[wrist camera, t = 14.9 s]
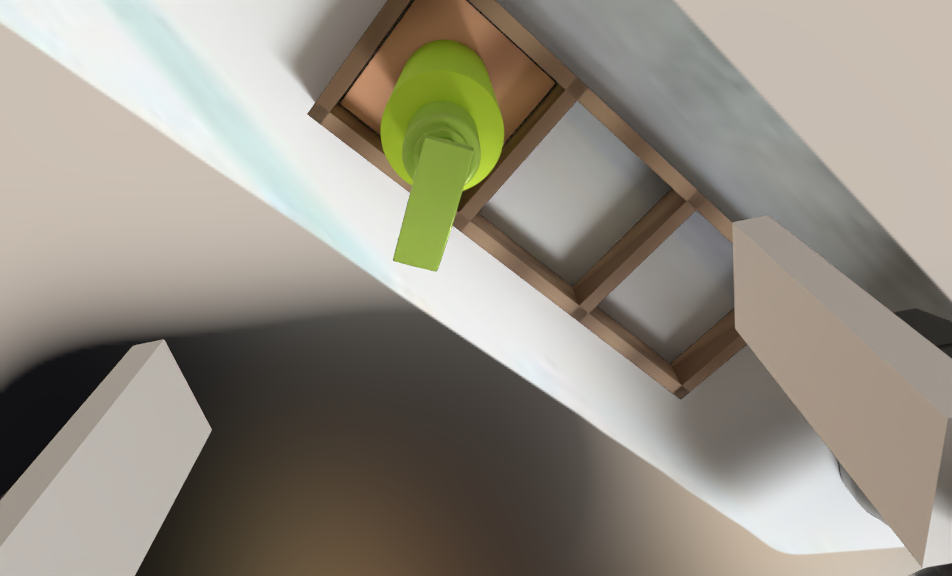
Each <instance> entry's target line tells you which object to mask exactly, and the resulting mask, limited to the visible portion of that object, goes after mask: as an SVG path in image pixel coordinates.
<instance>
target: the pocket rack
mask: <svg viewBox="0 0 952 576" xmlns="http://www.w3.org/2000/svg"><path fill="white" fill-rule="evenodd" d="M411 1H412V0H388V1H387V2H386V3H385V5H384V6H383V8H382V9H381V11H380V12H379V13H378V15H377V16H376V18H375V19H374V20H373V22H372V23H371V25H370V26H369V28H368V29H367V30H366V32H365V33H364V35H363V36H362V37H361V39H360V40H359V42H358V43H357V45H356V46H355V47H354V49H353V50H352V52H351V53H350V54H349V56H348V57H347V59H346V60H345V62H344V63H343V64H342V66H341V67H340V69H339V70H338V71H337V73H336V74H335V76H334V77H333V78H332V80H331V81H330V83H329V84H328V86H327V87H326V88H325V90H324V91H323V93H322V94H321V95H320V97H319V98H318V100H317V101H316V103H315V104H314V105H313V107H312V108H311V110H310V111H309V112H308V115H309V116H310V117H311V118H313V119H314V120H315V121H317V122H318V123H319V124H321V125H322V126H323V127H325V128H326V129H327V130H329V131H330V132H331V133H332V134H334V135H335V136H336V137H338V138H339V139H340V140H342V141H343V142H344V143H346V144H347V145H348V146H349V147H351V148H352V149H353V150H355V151H356V152H357V153H359V154H360V155H361V156H363V157H364V158H365V159H366V160H368V161H369V162H370V163H372V164H373V165H374V166H376V167H377V168H378V169H380V170H381V171H382V172H383V173H385V174H386V175H387V176H389V177H390V178H391V179H393V180H394V181H395V182H397V183H398V184H399V185H401V186H402V187H403V188H404V189H406V190H407V191H408V192H411V188H412V185H410V184H408V183H407V182H406V181H404V180H403V179H402V178H401V177H400V176H399V175H398V174H397V173H396V172H395V171H394V169H393V168H392V167H391V165H390V164H389V162H388V160H387V158H386V156H385V153H384V150H383V147H382V143H381V137H380V136H379V135H381V133H380V129H381V120H382V115H383V112H384V109H385V107H386V104H387V102H388V100H389V98H390V96H391V94H392V92H393V90H394V88H395V85H396V83H397V81H398V79H399V77H400V75H401V73H402V71H403V68H404V66H405V64H406V62H407V61H408V59H409V58H410V56H411V55H412V54H413V53H414V52H415V51H416V50H417V49H418V48H420V47H421V46H423V45H425V44H427V43H429V42H432V41H436V40H453V41H457V42H460V43H462V44H464V45H466V46H468V47H469V48H471V49H472V50H473V51H474V52H475V53H476V54H477V55H478V56H479V57H480V58H481V60H482V61H483V63H484V65H485V67H486V69H487V72H488V75H489V78H490V81H491V84H492V87H493V90H494V94H495V97H496V100H497V103H498V106H499V109H500V112H501V115H502V119H503V124H504V142H503V144H504V143H505V142H506V141H507V140H508V138H509V137H510V136H511V135H512V134H513V133H514V131H515V130H516V129H517V128H518V127H519V126H520V124H521V123H522V122H523V121H524V120H525V119H526V117H527V116H528V115H529V114H530V113H531V112H532V110H533V109H534V108H535V107H536V106H537V105H538V103H539V102H540V101H541V100H542V99H543V98H544V96H545V95H546V94H547V93H548V92H549V91H550V89H551V88H552V87H553V86H554V85H555V84H556V83H555V82H554V81H553V80H552V79H551V78H550V77H549V76H548V75H547V74H546V73H545V72H544V71H542V70H541V69H540V68H539V67H538V66H537V65H536V64H535V63H534V62H533V61H532V60H531V59H529V58H528V57H527V56H526V55H525V54H524V53H523V52H522V51H521V50H520V49H519V48H517V47H516V46H515V45H514V44H513V43H512V42H511V41H510V40H509V39H508V38H507V37H506V36H504V35H503V34H502V33H501V32H500V31H499V30H498V29H497V28H496V27H495V26H494V25H492V24H491V23H490V22H489V21H488V20H487V19H486V18H485V17H484V16H483V15H482V14H481V13H479V12H478V11H477V10H476V9H475V8H474V7H473V6H472V5H471V4H470V3H469V2H467V1H466V0H415V1H414V2H413V3H412V5H411V6H410V7H409V9H408V10H407V12H406V13H405V14H404V16H403V17H402V19H401V20H400V21H399V23H398V24H397V25H396V27H395V28H394V30H393V31H392V32H391V34H390V35H389V37H388V38H387V39H386V41H385V42H384V43H383V45H382V46H381V48H380V49H379V50H378V52H377V53H376V54H375V56H374V57H373V59H372V60H371V61H370V63H369V64H368V66H367V67H366V68H365V70H364V71H363V72H362V74H361V75H360V77H359V78H358V79H357V81H356V82H355V83H354V85H353V86H352V88H351V89H350V90H349V92H348V93H347V95H346V96H345V97H344V99H343V100H342V101H341V103H340V104H341V105H343V106H344V107H345V108H346V109H348V110H349V111H350V112H351V113H353V114H354V115H355V116H357V117H358V118H359V119H360V120H362V121H363V122H364V123H365V124H367V125H368V126H369V127H371V128H372V129H373V130H374V131H376V132H377V133H378V134H379V135H378V134H377V133H375V132H374V131H373V130H371V129H370V128H369V127H368V126H366V125H365V124H364V123H363V122H361V121H360V120H359V119H357V118H356V117H355V116H354V115H352V114H351V113H350V112H349V111H347V110H346V109H345V108H343V107H342V106H341V105H340V104H338V102H339V100H340V99H341V98H342V96H343V95H344V93H345V92H346V91H347V89H348V88H349V86H350V85H351V84H352V82H353V81H354V80H355V78H356V77H357V75H358V74H359V73H360V71H361V70H362V68H363V67H364V66H365V64H366V63H367V62H368V60H369V59H370V57H371V56H372V55H373V53H374V52H375V50H376V49H377V48H378V46H379V45H380V44H381V42H382V41H383V39H384V38H385V37H386V35H387V34H388V32H389V31H390V30H391V28H392V27H393V25H394V24H395V23H396V21H397V20H398V19H399V17H400V16H401V14H402V13H403V12H404V10H405V9H406V7H407V6H408V5H409V3H410V2H411ZM469 1H470V2H471V3H472V4H473V5H474V6H475V7H476V8H477V9H479V10H480V11H481V12H482V13H483V14H484V15H485V16H486V17H487V18H488V19H489V20H490V21H492V22H493V23H494V24H495V25H496V26H497V27H498V28H499V29H500V30H501V31H502V32H503V33H505V34H506V35H507V36H508V37H509V38H510V39H511V40H512V41H513V42H514V43H515V44H517V45H518V46H519V47H520V48H521V49H522V50H523V51H524V52H525V53H526V54H527V55H528V56H530V57H531V58H532V59H533V60H534V61H535V62H536V63H537V64H538V65H539V66H540V67H541V68H543V69H544V70H545V71H546V72H547V73H548V74H549V75H550V76H551V77H552V78H553V79H554V80H556V81H557V82H558V83H557V84H556V86H555V87H554V88H553V89H552V90H551V91H550V93H549V94H548V95H547V96H546V97H545V98H544V99H543V101H542V102H541V103H540V104H539V105H538V106H537V108H536V109H535V110H534V111H533V112H532V113H531V115H530V116H529V117H528V118H527V119H526V120H525V122H524V123H523V124H522V125H521V126H520V127H519V129H518V130H517V131H516V132H515V133H514V134H513V136H512V137H511V138H510V139H509V140H508V141H507V143H506V144H505V145H504V146H503V148H502V151H501V154H500V157H499V159H498V161H497V163H496V165H495V166H494V168H493V169H492V171H491V172H490V173H489V174H488V175H487V176H486V177H485V178H484V179H483V180H482V181H481V182H479V183H478V184H476V185H475V186H473V187H471V188H469V189H467V190H465V191H464V193H463V194H462V195H461V198H460V201H459V205H458V208H457V211H456V215H455V218H454V221H453V226H454V227H455V228H457V229H458V230H459V231H461V232H462V233H463V234H465V235H466V236H467V237H469V238H470V239H471V240H472V241H474V242H475V243H476V244H478V245H479V246H480V247H482V248H483V249H484V250H486V251H487V252H488V253H490V254H491V255H492V256H493V257H495V258H496V259H497V260H499V261H500V262H501V263H503V264H504V265H505V266H507V267H508V268H509V269H510V270H512V271H513V272H514V273H516V274H517V275H518V276H520V277H521V278H522V279H524V280H525V281H526V282H527V283H529V284H530V285H531V286H533V287H534V288H535V289H537V290H538V291H539V292H541V293H542V294H543V295H544V296H546V297H547V298H548V299H550V300H551V301H552V302H554V303H555V304H556V305H558V306H559V307H560V308H562V309H563V310H564V311H565V312H567V313H568V314H569V315H571V316H572V317H573V318H575V319H576V320H577V321H579V322H580V323H581V324H582V325H584V326H585V327H586V328H588V329H589V330H590V331H592V332H593V333H594V334H596V335H597V336H598V337H599V338H601V339H602V340H603V341H605V342H606V343H607V344H609V345H610V346H611V347H613V348H614V349H615V350H616V351H618V352H619V353H620V354H622V355H623V356H624V357H626V358H627V359H628V360H630V361H631V362H632V363H633V364H635V365H636V366H637V367H639V368H640V369H641V370H643V371H644V372H645V373H647V374H648V375H649V376H651V377H652V378H653V379H654V380H656V381H657V382H658V383H660V384H661V385H662V386H664V387H665V388H666V389H668V390H669V391H670V392H671V393H673V394H674V395H675V396H677V397H678V398H679V399H682V398H683V397H684V396H686V395H687V394H688V393H689V392H690V391H692V390H693V389H694V388H695V387H696V386H698V385H699V384H700V383H701V382H702V381H704V380H705V379H706V378H707V377H708V376H710V375H711V374H712V373H713V372H714V371H716V370H717V369H718V368H719V367H720V366H722V365H723V364H724V363H725V362H726V361H727V360H729V359H730V358H731V357H732V356H733V355H735V354H736V353H737V352H738V351H739V350H741V349H742V348H743V347H744V346H745V345H747V343H746V342H745V341H744V339H743V338H742V337H741V336H740V334H739V333H738V332H737V330H736V329H735V308H734V309H733V310H732V311H731V312H730V313H729V314H727V315H726V316H725V317H724V318H723V319H722V320H720V321H719V322H718V323H717V324H716V325H715V326H714V327H712V328H711V329H710V330H709V331H708V332H707V333H705V334H704V335H703V336H702V337H701V338H700V339H699V340H697V341H696V342H695V343H694V344H693V345H692V346H691V347H689V348H688V349H687V350H686V351H685V352H684V353H682V354H681V355H680V356H679V357H678V358H677V359H676V360H674V361H673V362H672V363H671V364H669V363H668V362H667V361H666V360H664V359H663V358H662V357H661V356H659V355H658V354H657V353H655V352H654V351H653V350H652V349H650V348H649V347H648V346H647V345H645V344H644V343H643V342H641V341H640V340H639V339H638V338H636V337H635V336H634V335H633V334H631V333H630V332H629V331H627V330H626V329H625V328H624V327H622V326H621V325H620V324H619V323H617V322H616V321H615V320H613V319H612V318H611V317H610V316H608V315H607V314H606V313H605V312H603V311H602V310H601V309H599V308H598V307H597V305H598V304H599V303H600V302H601V301H602V300H603V299H604V298H605V297H606V296H607V295H608V294H609V293H610V292H611V291H613V290H614V289H615V288H616V287H617V286H618V285H619V284H620V283H621V282H622V281H623V280H624V279H625V278H626V277H627V276H628V275H629V274H630V273H631V272H632V271H633V270H634V269H635V268H636V267H638V266H639V265H640V264H641V263H642V262H643V261H644V260H645V259H646V258H647V257H648V256H649V255H650V254H651V253H652V252H653V251H654V250H655V249H656V248H657V247H658V246H659V245H660V244H661V243H663V242H664V241H665V240H666V239H667V238H668V237H669V236H670V235H671V234H672V233H673V232H674V231H675V230H676V229H677V228H678V227H679V226H680V225H681V224H682V223H683V222H684V221H685V220H686V219H688V218H689V217H690V216H691V215H692V214H693V213H694V212H695V211H696V210H697V211H698V212H699V213H700V214H701V215H702V216H703V217H704V218H705V219H706V220H708V221H709V222H710V223H711V224H712V225H713V226H714V227H715V228H716V229H717V230H718V231H719V232H721V233H722V234H723V235H724V236H725V237H726V238H727V239H728V240H729V241H730V242H731V243H732V244H733V229H732V222H731V221H730V220H729V219H728V218H727V217H726V216H725V215H723V214H722V213H721V212H720V211H719V210H718V209H717V208H716V207H715V206H714V205H713V204H712V203H711V202H710V201H709V200H707V199H706V198H705V197H704V196H703V195H702V194H701V193H700V192H699V191H698V190H697V189H696V188H695V187H694V186H693V185H692V184H690V183H689V182H688V181H687V180H686V179H685V178H684V177H683V176H682V175H681V174H680V173H679V172H678V171H677V170H676V169H674V168H673V167H672V166H671V165H670V164H669V163H668V162H667V161H666V160H665V159H664V158H663V157H662V156H661V155H660V154H658V153H657V152H656V151H655V150H654V149H653V148H652V147H651V146H650V145H649V144H648V143H647V142H646V141H645V140H644V139H642V138H641V137H640V136H639V135H638V134H637V133H636V132H635V131H634V130H633V129H632V128H631V127H630V126H629V125H628V124H626V123H625V122H624V121H623V120H622V119H621V118H620V117H619V116H618V115H617V114H616V113H615V112H614V111H613V110H612V109H610V108H609V107H608V106H607V105H606V104H605V103H604V102H603V101H602V100H601V99H600V98H599V97H598V96H597V95H596V94H594V93H593V92H592V91H591V90H590V89H589V88H588V87H587V86H586V85H585V84H584V83H583V82H582V81H581V80H580V79H578V78H577V77H576V76H575V75H574V74H573V73H572V72H571V71H570V70H569V69H568V68H567V67H566V66H565V65H564V64H562V63H561V62H560V61H559V60H558V59H557V58H556V57H555V56H554V55H553V54H552V53H551V52H550V51H549V50H548V49H547V48H545V47H544V46H543V45H542V44H541V43H540V42H539V41H538V40H537V39H536V38H535V37H534V36H533V35H532V34H531V33H529V32H528V31H527V30H526V29H525V28H524V27H523V26H522V25H521V24H520V23H519V22H518V21H517V20H516V19H515V18H513V17H512V16H511V15H510V14H509V13H508V12H507V11H506V10H505V9H504V8H503V7H502V6H501V5H500V4H499V3H497V2H496V1H495V0H469ZM576 101H578V102H579V103H581V104H582V105H583V106H584V107H585V108H586V109H587V110H588V111H589V112H590V113H591V114H592V115H594V116H595V117H596V118H597V119H598V120H599V121H600V122H601V123H602V124H603V125H604V126H606V127H607V128H608V129H609V130H610V131H611V132H612V133H613V134H614V135H615V136H616V137H617V138H619V139H620V140H621V141H622V142H623V143H624V144H625V145H626V146H627V147H628V148H629V149H630V150H632V151H633V152H634V153H635V154H636V155H637V156H638V157H639V158H640V159H641V160H642V161H643V162H645V163H646V164H647V165H648V166H649V167H650V168H651V169H652V170H653V171H654V172H655V173H657V174H658V175H659V176H660V177H661V178H662V179H663V180H664V181H665V182H666V183H667V184H668V185H670V186H671V187H672V189H671V190H670V191H669V192H668V193H667V194H666V195H665V196H664V197H663V198H662V199H661V200H660V201H659V202H658V203H657V204H656V205H655V206H654V207H653V208H652V209H651V210H650V211H649V212H648V213H647V214H646V215H645V216H644V217H643V218H642V219H641V220H640V221H639V222H638V223H637V224H636V225H635V226H634V227H633V228H632V229H631V230H630V231H629V232H628V233H627V234H626V235H625V236H624V237H623V238H622V239H621V240H620V241H619V242H618V243H617V244H616V245H615V246H614V247H613V248H612V249H611V250H609V251H608V252H607V253H606V254H605V255H604V256H603V257H602V258H601V259H600V260H599V261H598V262H597V263H596V264H595V265H594V266H593V267H592V268H591V269H590V270H589V271H588V272H587V273H586V274H585V275H584V276H583V277H582V278H581V279H580V280H579V281H578V282H577V283H576V284H575V285H574V286H573V287H571V286H570V285H569V284H568V283H566V282H565V281H564V280H562V279H561V278H560V277H559V276H557V275H556V274H555V273H554V272H552V271H551V270H550V269H548V268H547V267H546V266H545V265H543V264H542V263H541V262H540V261H538V260H537V259H536V258H534V257H533V256H532V255H531V254H529V253H528V252H527V251H526V250H524V249H523V248H522V247H520V246H519V245H518V244H517V243H515V242H514V241H513V240H512V239H510V238H509V237H508V236H506V235H505V234H504V233H503V232H501V231H500V230H499V229H498V228H496V227H495V226H494V225H492V224H491V223H490V222H489V221H487V220H486V219H485V218H484V217H482V216H481V215H480V214H478V212H479V211H480V210H481V209H482V207H483V206H484V205H485V204H486V203H487V202H488V201H489V200H490V198H491V197H492V196H493V195H494V194H495V193H496V192H497V190H498V189H499V188H500V187H501V186H502V185H503V184H504V183H505V181H506V180H507V179H508V178H509V177H510V176H511V175H512V174H513V172H514V171H515V170H516V169H517V168H518V167H519V166H520V164H521V163H522V162H523V161H524V160H525V159H526V158H527V157H528V155H529V154H530V153H531V152H532V151H533V150H534V149H535V147H536V146H537V145H538V144H539V143H540V142H541V141H542V140H543V138H544V137H545V136H546V135H547V134H548V133H549V132H550V130H551V129H552V128H553V127H554V126H555V125H556V124H557V123H558V121H559V120H560V119H561V118H562V117H563V116H564V115H565V113H566V112H567V111H568V110H569V109H570V108H571V107H572V106H573V104H574V103H575V102H576ZM462 192H463V191H462Z"/></svg>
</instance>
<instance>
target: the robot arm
mask: <svg viewBox="0 0 952 576" xmlns="http://www.w3.org/2000/svg"><path fill="white" fill-rule="evenodd" d="M732 229H733V268H734V308H735V329H736V330H737V332H738V333H739V334H740V336H741V337H742V338H743V339H744V341H745V342H746V343H747V344H748V346H749V347H750V348H751V350H752V351H753V352H754V353H755V355H756V356H757V357H758V359H759V360H760V361H761V362H762V364H763V365H764V366H765V368H766V369H767V370H768V371H769V373H770V374H771V375H772V376H773V378H774V379H775V380H776V382H777V383H778V384H779V385H780V387H781V388H782V389H783V391H784V392H785V393H786V394H787V396H788V397H789V398H790V400H791V401H792V402H793V403H794V405H795V406H796V407H797V408H798V410H799V411H800V412H801V414H802V415H803V416H804V417H805V419H806V420H807V421H808V423H809V424H810V425H811V426H812V428H813V429H814V430H815V431H816V433H817V434H818V435H819V437H820V438H821V439H822V440H823V442H824V443H825V444H826V446H827V447H828V448H829V449H830V451H831V452H832V453H833V455H834V456H835V457H836V458H837V460H838V461H839V462H840V473H841V477H842V480H843V482H844V484H845V486H846V487H847V489H848V490H849V491H850V493H851V494H852V495H853V497H854V498H855V499H856V500H857V502H858V503H859V504H860V505H861V506H862V507H863V508H864V509H865V510H866V511H867V512H868V513H869V514H871V515H873V516H874V517H876V518H878V519H880V520H881V521H882V522H884V523H885V524H886V525H888V526H889V527H890V528H891V529H892V530H893V531H894V533H895V534H896V535H897V536H898V538H899V539H900V540H901V542H902V543H903V544H904V545H905V547H906V548H907V549H908V550H909V552H910V553H911V554H912V556H913V557H914V558H915V559H916V561H917V562H918V563H919V565H920V566H921V567H922V568H924V569H922V570H920V571H918V572H915V573H913V574H911V575H909V576H952V323H951V322H950V321H948V320H945V319H942V318H940V317H937V316H934V315H932V314H929V313H927V312H924V311H921V310H919V309H911V310H906V311H901V312H895V313H893V312H891V311H890V310H889V309H887V308H886V307H885V306H884V305H882V304H881V303H880V302H879V301H877V300H876V299H875V298H873V297H872V296H871V295H870V294H868V293H867V292H866V291H864V290H863V289H862V288H861V287H859V286H858V285H857V284H855V283H854V282H853V281H852V280H850V279H849V278H848V277H847V276H845V275H844V274H843V273H841V272H840V271H839V270H838V269H836V268H835V267H834V266H832V265H831V264H830V263H829V262H827V261H826V260H825V259H824V258H822V257H821V256H820V255H818V254H817V253H816V252H815V251H813V250H812V249H811V248H809V247H808V246H807V245H806V244H804V243H803V242H802V241H800V240H799V239H798V238H797V237H795V236H794V235H793V234H792V233H790V232H789V231H788V230H786V229H785V228H784V227H783V226H781V225H780V224H779V223H777V222H776V221H775V220H774V219H772V218H771V217H770V216H768V215H766V216H761V217H756V218H751V219H746V220H741V221H737V222H732ZM210 432H211V428H210V426H209V424H208V422H207V420H206V418H205V416H204V414H203V413H202V411H201V409H200V407H199V405H198V403H197V401H196V399H195V398H194V396H193V394H192V392H191V390H190V388H189V386H188V384H187V382H186V380H185V378H184V377H183V375H182V373H181V371H180V369H179V367H178V365H177V363H176V361H175V359H174V357H173V356H172V354H171V352H170V350H169V348H168V346H167V344H166V342H165V340H159V341H154V342H149V343H145V344H140V345H135V346H133V347H132V348H131V349H130V350H129V351H128V352H127V354H126V355H125V356H124V357H123V358H122V359H121V361H120V362H119V363H118V364H117V365H116V366H115V368H114V369H113V370H112V371H111V372H110V373H109V375H108V376H107V377H106V378H105V379H104V380H103V382H102V383H101V384H100V385H99V386H98V387H97V388H96V390H95V391H94V392H93V393H92V394H91V395H90V397H89V398H88V399H87V400H86V401H85V402H84V404H83V405H82V406H81V407H80V408H79V409H78V411H77V412H76V413H75V414H74V415H73V416H72V418H71V419H70V420H69V421H68V422H67V424H66V425H65V426H64V427H63V428H62V429H61V431H60V432H59V433H58V434H57V435H56V436H55V437H54V439H53V440H52V441H51V442H50V443H49V445H48V446H47V447H46V448H45V449H44V450H43V452H42V453H41V454H40V455H39V456H38V457H37V458H36V460H35V461H34V462H33V463H32V464H31V465H30V466H29V468H28V469H27V470H26V471H25V472H24V473H23V475H22V476H21V477H20V478H19V479H18V480H17V482H16V483H15V484H14V485H13V486H12V487H11V489H10V490H8V491H7V492H6V493H5V494H4V495H2V496H1V497H0V576H135V574H136V572H137V570H138V568H139V566H140V564H141V563H142V561H143V559H144V557H145V555H146V553H147V551H148V549H149V547H150V546H151V544H152V542H153V540H154V538H155V536H156V534H157V532H158V531H159V528H160V527H161V525H162V523H163V521H164V519H165V517H166V515H167V514H168V512H169V510H170V508H171V506H172V504H173V502H174V500H175V498H176V497H177V495H178V493H179V491H180V489H181V487H182V485H183V483H184V481H185V480H186V478H187V476H188V474H189V472H190V470H191V468H192V466H193V464H194V463H195V461H196V459H197V457H198V455H199V453H200V451H201V449H202V448H203V446H204V444H205V442H206V440H207V438H208V436H209V434H210ZM925 567H926V568H925Z"/></svg>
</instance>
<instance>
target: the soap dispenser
mask: <svg viewBox="0 0 952 576" xmlns="http://www.w3.org/2000/svg"><path fill="white" fill-rule="evenodd" d="M380 133H381V143H382V147H383V150H384V153H385V156H386V158H387V160H388V162H389V164H390V165H391V167H392V168H393V169H394V171H395V172H396V173H397V174H398V175H399V176H400V177H401V178H402V179H403V180H404V181H406V182H407V183H408V184H410V185H412V188H411V192H410V196H409V199H408V203H407V207H406V211H405V215H404V219H403V223H402V227H401V230H400V234H399V238H398V242H397V246H396V250H395V254H394V258H393V260H394V261H396V262H399V263H403V264H407V265H411V266H415V267H419V268H423V269H427V270H431V271H437V270H438V267H439V264H440V262H441V259H442V256H443V253H444V250H445V247H446V244H447V241H448V237H449V234H450V231H451V228H452V225H453V221H454V218H455V215H456V211H457V208H458V205H459V201H460V198H461V194H462V191H464V190H467V189H469V188H471V187H473V186H475V185H476V184H478V183H479V182H481V181H482V180H483V179H484V178H485V177H486V176H487V175H488V174H489V173H490V172H491V171H492V169H493V168H494V166H495V165H496V163H497V161H498V159H499V157H500V154H501V151H502V148H503V142H504V124H503V119H502V115H501V112H500V109H499V106H498V103H497V100H496V97H495V94H494V90H493V87H492V84H491V81H490V78H489V75H488V72H487V69H486V67H485V65H484V63H483V61H482V60H481V58H480V57H479V56H478V55H477V54H476V53H475V52H474V51H473V50H472V49H471V48H469V47H468V46H466V45H464V44H462V43H460V42H457V41H453V40H436V41H432V42H429V43H427V44H425V45H423V46H421V47H420V48H418V49H417V50H416V51H415V52H414V53H413V54H412V55H411V56H410V58H409V59H408V61H407V62H406V64H405V66H404V68H403V71H402V73H401V75H400V77H399V79H398V81H397V83H396V85H395V88H394V90H393V92H392V94H391V96H390V98H389V100H388V102H387V104H386V107H385V109H384V112H383V115H382V120H381V129H380Z"/></svg>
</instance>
